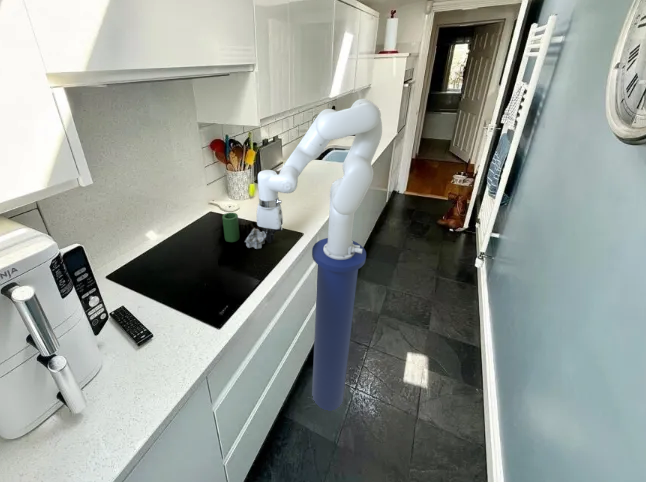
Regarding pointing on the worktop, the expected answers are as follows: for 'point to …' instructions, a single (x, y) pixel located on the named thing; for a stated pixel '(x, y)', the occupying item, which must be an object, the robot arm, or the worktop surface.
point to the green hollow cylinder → (231, 227)
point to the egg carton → (255, 239)
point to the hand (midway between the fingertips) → (270, 241)
